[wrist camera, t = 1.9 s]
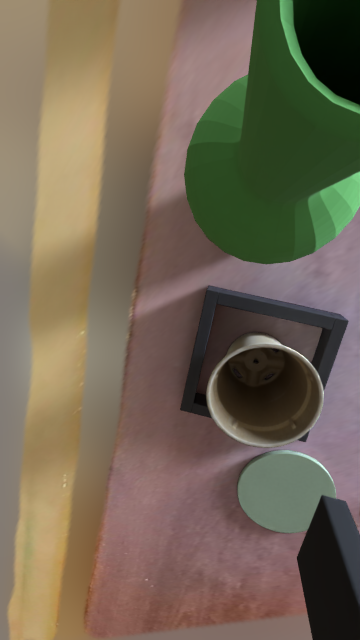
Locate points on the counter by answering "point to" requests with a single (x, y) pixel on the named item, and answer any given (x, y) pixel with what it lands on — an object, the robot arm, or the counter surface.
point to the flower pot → (264, 393)
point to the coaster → (283, 490)
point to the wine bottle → (283, 137)
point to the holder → (328, 321)
